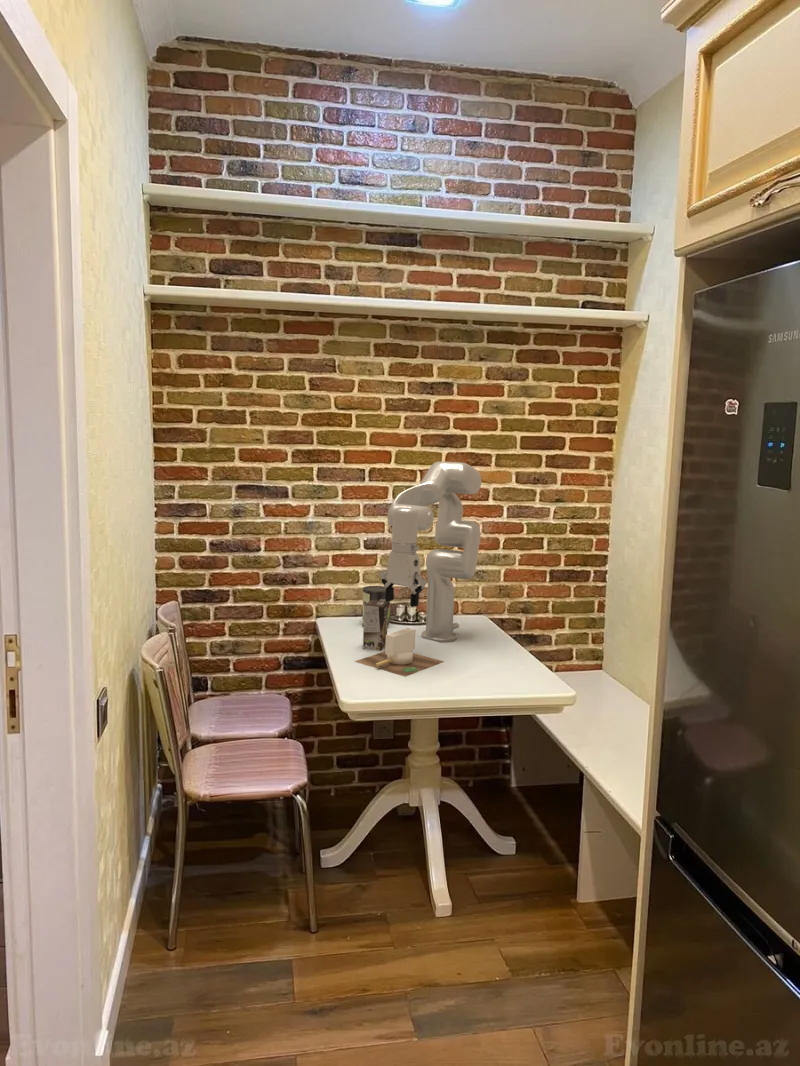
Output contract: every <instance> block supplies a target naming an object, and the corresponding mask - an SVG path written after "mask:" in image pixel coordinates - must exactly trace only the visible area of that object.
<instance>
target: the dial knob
mask: <svg viewBox="0 0 800 1066" xmlns="http://www.w3.org/2000/svg"><path fill="white" fill-rule="evenodd" d="M384 649H385V650H384V651H385V654H387V660H384V661H381V662H379V663H376V666H380V665H383V664H386V663H392V664H398V665H405V664H410V663H412V662H413V653H414V651H413V650H415V649H416V629H414V628H410V627H407V628H405V629H401V630H397V631H394V632H390V633H387V635H386V644H385V647H384Z"/></svg>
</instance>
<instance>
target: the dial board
mask: <svg viewBox="0 0 800 1066" xmlns="http://www.w3.org/2000/svg"><path fill="white" fill-rule="evenodd" d="M384 660H387V654H385V650H384V651H380V652H378V653H375V654H372V655H369V656H367V657H364V658H361V659H357V660H354V663H357V664H361V665H364V666H368V667H371V668H374V669H378V670H381V671H384V672H388V673H392V674H394V675H399V676H402V677H405V678H406V677H408V676H409V677H410V676H411V675H413V674H416V673H419V672H422V671H425V670H427V669H429V668H432V667H434V666H437V665H440V664H443V663H445V661H444V660H441V659H437V658H433V657H430V656H426V655H422V654H418V653H415V652H413V662H412V663H410V664H405V665H398V664H392V663H386V664H383V665H380V666H376V663H379V662H381V661H384Z"/></svg>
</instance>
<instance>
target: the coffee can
mask: <svg viewBox="0 0 800 1066" xmlns="http://www.w3.org/2000/svg"><path fill="white" fill-rule="evenodd" d="M385 594H386V588H384V585H367V586H364V587H362V595H363V596H362V614H361V615H362V618H361V625H362V624H363V625H364V606H365V605H366V604H367V603H368V602H369V601H370V600H375V601H376V600H379V601H385ZM390 610H391V601H388V622H387V627H388V626H389V627H390V617H391V616H390V613H391V611H390ZM389 627H388V628H389Z"/></svg>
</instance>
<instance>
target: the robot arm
mask: <svg viewBox="0 0 800 1066" xmlns="http://www.w3.org/2000/svg"><path fill="white" fill-rule="evenodd" d="M481 486H482V475H481V474H480V472H479V470H477V469H476V468H474V466H471V464H468V463H466V462H458V461H444V460H443V461H442V460H441V461H435V462H434V463H432V464H431V466H429V468H428V470H427V471H426V473H425V475H424V476H423V478H422V480H421V481H420V482H419V484H415V485H414V486H412V487H409V488H408V489H405V490H404V491H402V492H400V493H399V494H398V495H397V496H395V498H394V499H393V501H392V503H391V504H390V505H389V508H388V512H387V522H388V524H389V525H390V526H391V527H392V530H391V531H392V533H391V534H392V535H391V551H390V552H389V555H388V561H387V565H386V566H387V567H386V569H385V570H383V571H380V572H379V576H380V579H381V583H382V585H383V586H384V588H386V594H385V601H387V602H388V601H390V602H393V600H394V595H395V593H394V592H395V589H394V588H395V587H394V585H396V586H401V587H406V588H409V589H410V591H411V593H410V603H409V604H410V605H409V606H410V608H414V607H418V606H419V603H420V599H419V598H420V594H421V593H422V591H423V590H424V589H425V587H426V584H427V592H426V594H427V595H426V615H425V616H426V617H425V618H426V620H425V630H424V631H422V632H421V634H420V636H421V638H422V639H424V640H429V641H433V642H437V643H447V642H454V641H456V640H457V638H458V637H457V635H458V634H457V633H455V632H454V630H455V629H458V628H459V626H460V624H459V623H458V622H455V623H454V613H455V611H454V609H455V591H456V590H455V586H454V584H453V582H452V581H451V579H458V580H460V579H461V580H471V579H472V578H473V577H474V575H475V573H476V569H477V563H478V556H479V551H480V549H479V548H480V543H481V529H480V526H479V524H478V523H477V522H474V521H470V520H463V512H464V506H463V504H462V503H463V502H462V501H461V500H460V498H459V497H458V495H457V494H464V495H465V494H466V495H475V494H477V493H479V491H480V489H481ZM436 503H438V506H439V507H438V513H437V519H436V527H435V533H434V539H435V542H436V543H437V544H438V545H439V546H444V547H450V548H451V547H452V548H461V549H463V551H462V550H454V549H445V548H435V549H432V550H431V551H428V553H427V555H426V559H425V566H426V567H425V568H426V573H427V574H426V575H427V580H426V579H425V578H424V577H423V576H422V575H421V562H420V561H421V560H420V554H419V553H417V552H418V551H420V547H419V546H418V545H417V544H418V543H417V542H418V531H425V530H429V528H431V527H432V525H433V523H434V520H435V519H434V518H435V515H434V512H433V510H432V508H430V507H429V506H430V505H434V504H436Z"/></svg>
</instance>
